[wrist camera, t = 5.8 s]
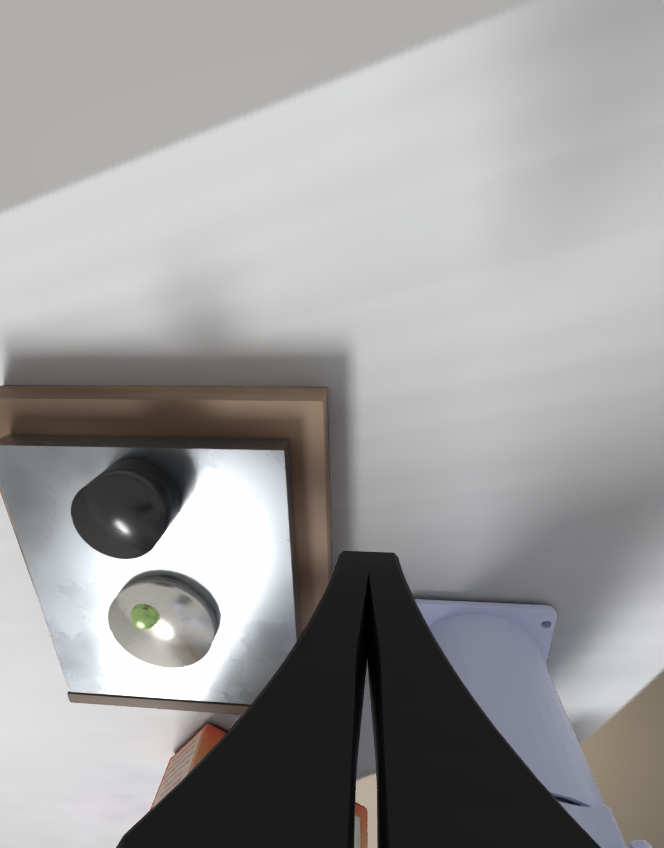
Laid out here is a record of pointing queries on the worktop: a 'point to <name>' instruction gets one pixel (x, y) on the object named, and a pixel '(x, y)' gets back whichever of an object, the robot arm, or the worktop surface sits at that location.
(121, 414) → the base
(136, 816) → the worktop surface
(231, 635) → the plate
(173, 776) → the cracker box
